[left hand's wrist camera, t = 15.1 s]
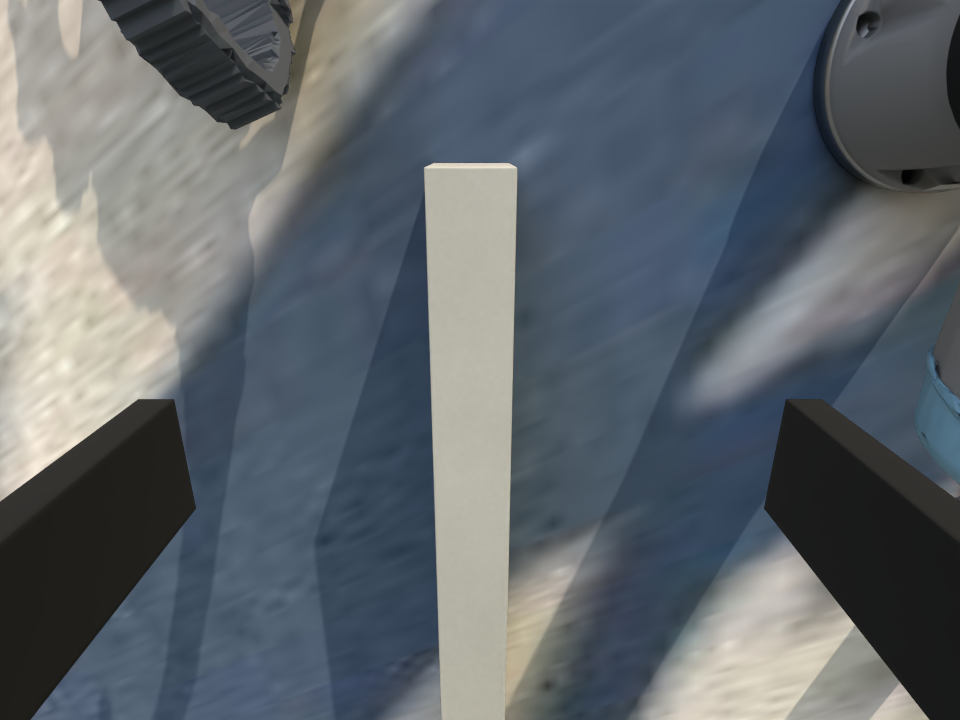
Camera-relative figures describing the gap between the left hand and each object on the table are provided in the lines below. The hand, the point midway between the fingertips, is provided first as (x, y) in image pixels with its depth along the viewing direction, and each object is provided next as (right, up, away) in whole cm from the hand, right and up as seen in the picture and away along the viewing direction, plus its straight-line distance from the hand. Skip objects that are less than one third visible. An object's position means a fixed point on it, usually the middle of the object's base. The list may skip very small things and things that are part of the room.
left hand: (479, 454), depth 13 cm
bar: (-1, -21, +39) cm, 44 cm away
